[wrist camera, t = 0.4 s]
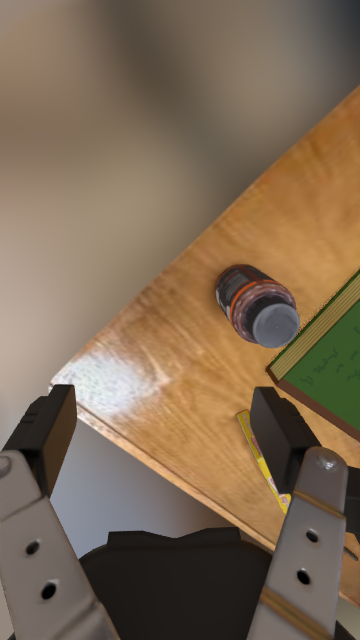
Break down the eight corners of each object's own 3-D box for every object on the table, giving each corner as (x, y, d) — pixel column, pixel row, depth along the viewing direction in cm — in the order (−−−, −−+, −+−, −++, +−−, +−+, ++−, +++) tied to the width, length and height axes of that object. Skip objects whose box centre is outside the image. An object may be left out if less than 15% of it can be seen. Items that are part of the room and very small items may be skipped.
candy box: (285, 480, 46) (311, 534, 39) (273, 485, 47) (296, 540, 39) (249, 407, 40) (270, 455, 33) (235, 414, 41) (253, 462, 33)
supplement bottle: (207, 306, 34) (229, 350, 24) (223, 257, 32) (255, 282, 22) (253, 317, 35) (293, 365, 25) (272, 271, 33) (324, 301, 23)
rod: (354, 558, 56) (356, 562, 55) (299, 514, 50) (301, 518, 49) (357, 556, 56) (359, 560, 55) (302, 511, 50) (304, 515, 49)
